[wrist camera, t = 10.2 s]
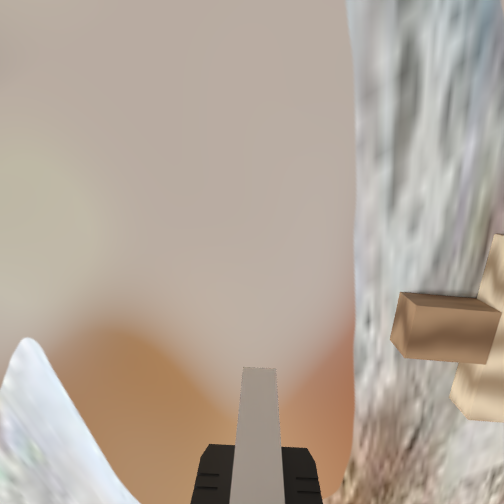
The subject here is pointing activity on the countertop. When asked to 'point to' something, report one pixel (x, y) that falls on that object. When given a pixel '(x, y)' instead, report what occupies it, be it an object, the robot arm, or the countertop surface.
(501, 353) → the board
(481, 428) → the countertop surface
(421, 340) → the block
